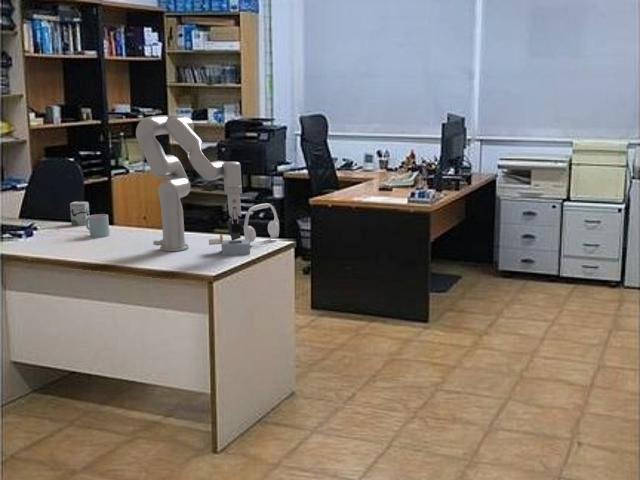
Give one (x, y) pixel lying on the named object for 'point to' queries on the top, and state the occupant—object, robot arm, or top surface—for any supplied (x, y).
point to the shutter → (216, 241)
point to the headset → (272, 226)
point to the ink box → (79, 213)
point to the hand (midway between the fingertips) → (235, 231)
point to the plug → (233, 235)
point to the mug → (98, 225)
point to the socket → (235, 247)
